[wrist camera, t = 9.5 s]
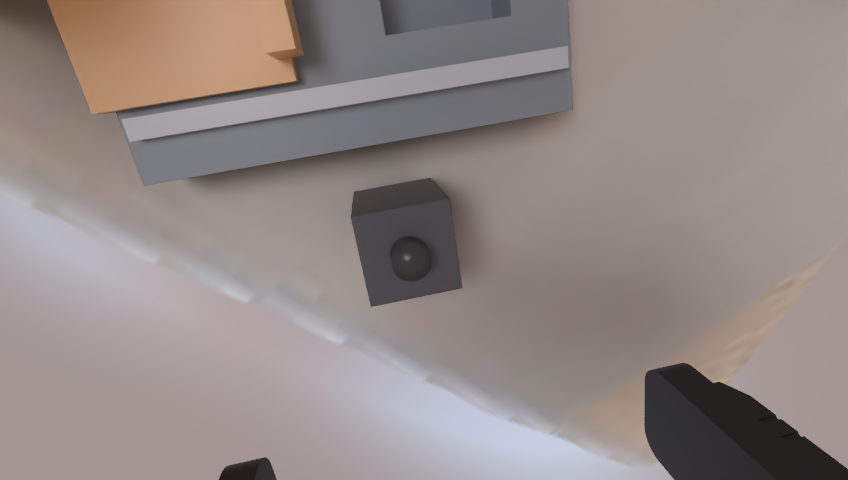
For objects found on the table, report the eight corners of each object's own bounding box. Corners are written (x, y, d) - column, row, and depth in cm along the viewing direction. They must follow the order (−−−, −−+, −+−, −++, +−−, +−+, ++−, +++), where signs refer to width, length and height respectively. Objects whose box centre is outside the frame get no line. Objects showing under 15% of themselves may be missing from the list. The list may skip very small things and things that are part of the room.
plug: (354, 188, 26) (350, 224, 18) (427, 174, 26) (454, 204, 19) (369, 257, 28) (371, 318, 20) (438, 243, 28) (467, 298, 20)
